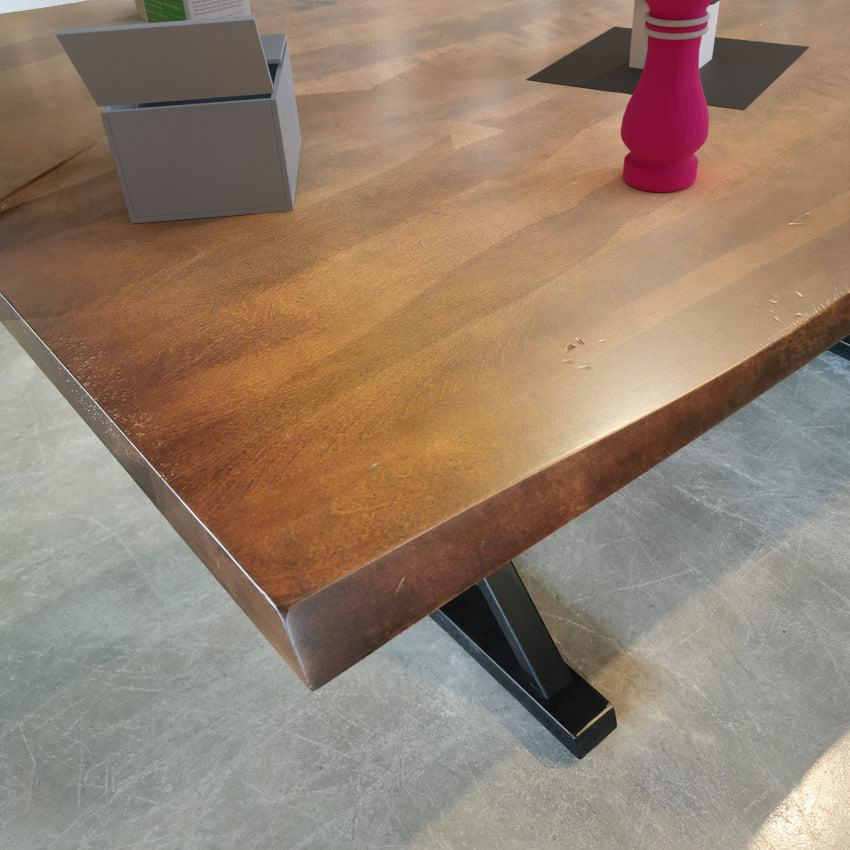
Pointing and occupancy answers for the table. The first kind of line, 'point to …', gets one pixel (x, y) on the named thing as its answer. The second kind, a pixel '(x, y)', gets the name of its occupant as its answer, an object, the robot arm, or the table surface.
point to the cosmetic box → (193, 9)
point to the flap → (169, 60)
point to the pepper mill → (668, 100)
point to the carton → (210, 150)
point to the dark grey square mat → (718, 62)
